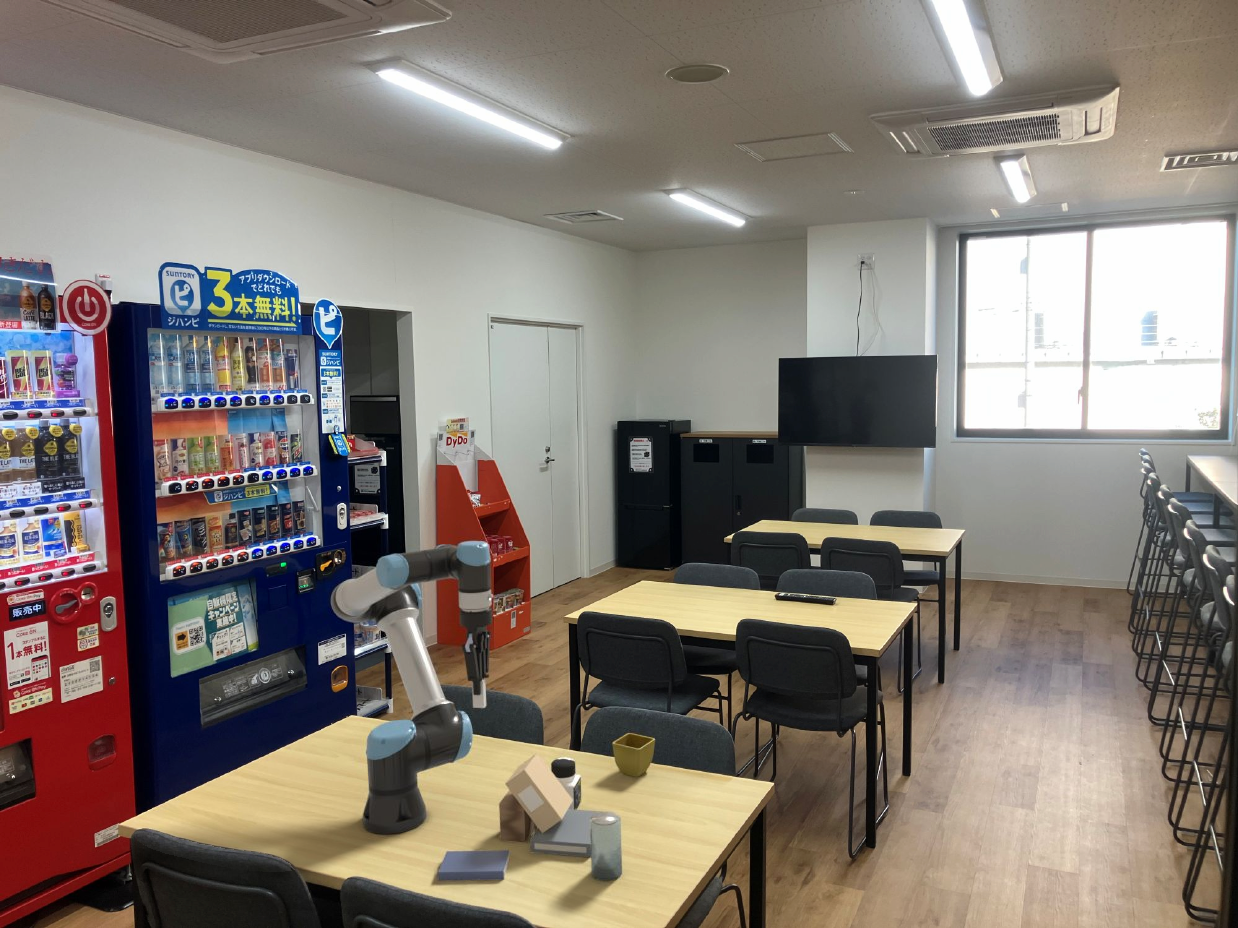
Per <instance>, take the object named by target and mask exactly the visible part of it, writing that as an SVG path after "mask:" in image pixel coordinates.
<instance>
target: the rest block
mask: <svg viewBox="0 0 1238 928" xmlns="http://www.w3.org/2000/svg"><path fill="white" fill-rule="evenodd" d="M498 806H499V807H498V808H499V810H498V811H499V834H500V835H499V837H500V842H508V843H511V842H512V843H522V844H523V843H525V844H526V842H527V841H528V839H529V838H530V836H531V834H532V833H533V832H534V830H535V828H537V826H536V824H535V823H534V822H533V820H532V819H531V818H530V816H529V815H528V814H527V812H526V811H525V810H524V808H523V807H522V806H521V804H520V803H519V802H518V800H517V799H516V798H515V796H514V795H513V794H512V792H511V791H510V790H509V789H508V791H507V792H506V794H505V795H504V797H503V798H502V799H501V801H500V802H499V803H498Z"/></svg>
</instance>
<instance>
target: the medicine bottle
mask: <svg viewBox="0 0 1238 928" xmlns="http://www.w3.org/2000/svg"><path fill="white" fill-rule="evenodd" d="M550 766H551V767H550V768H551V769H550V770H551V772H552V773H553V774H554V775H555V777H556V778H557V779H558V781H559V782H560V783H561V785H562V786H563V787H564V789H565V790H566V791H567V793H568V794H569V795H570V797H571V798H572V799H573V801H572V803H571V805H570V806H569V808H568V809H574V810H579V809H578V808H579V807H580V804H581V803H582V777H581V776H582V775H580V774H577V773H576V761H575V760H574V759H573V758H570V757H558V758H555V759H554V760H553V761H552V762H551V764H550Z"/></svg>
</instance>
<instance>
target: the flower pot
mask: <svg viewBox="0 0 1238 928" xmlns="http://www.w3.org/2000/svg"><path fill="white" fill-rule="evenodd" d="M655 743H656V739H655V738H654V737H649V736H645V735H641V734H636V733H631V732H628V733H626V734H624V735H622V736H621V737H619V738H618V739H615V740H614V741H613V742H612V743H611V745H612V752H613V757H614V762H615V765H616V767H617V768H618V770H619V771H620V773H621V774H623V775H627V776H630V777H631V776H632V777H633V778H638V777H640V776H642V774H644V773H645V772H647V771H648V769H649V767H650V766H651V764H652V760H653V757H654V752H655V751H654V750H655Z"/></svg>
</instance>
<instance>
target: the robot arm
mask: <svg viewBox="0 0 1238 928" xmlns="http://www.w3.org/2000/svg"><path fill="white" fill-rule="evenodd" d="M491 560H492V559H491V555H490V545H489V544H488V543H487V541H482V540H479V541H478V540H468V541H462V542H460V543H458V544H457V546H456V545H453V544H440V545H437V546H436V547H434V548H429V549H422V550H417V551H409V552H402V553H391V554H389V555H385V556H381V557H380V558H378V560H377V563H376V566H375V568H373V569H371V570H370V571H368V572H366V573H363V575H361V576H359V577H357V578H350V579H346V580H345V581H342V582H341V583H339V584H338V585H337V586H335V588H334V589H333V591H332V593H331V596H330V605H331V609H332V610H333V612H334V614H336V616H337V617H338V618H340V619H342V620H343V621H346V622H348V623H349V622H350V623H355V624H356V623H358V624H359V623H365V622H371V621H374V622H375V625H376V628H377V630H379V631H382V632H384V633H385V635H386V640H387V641H388V644H389V646H390V649H391V652H392V655H393V658H394V660H395V661H394V662H395V663H396V667H397V669H398V672H399V675H400V678H401V681H402V683H403V687H404V690H405V692H406V694H407V697H408V700H409V703H410V706H411V708H412V711H413V714H412V716H411V718H410V719H405V718H404V719H399V720H396V719H394V720H390V721H387V722H384V723H381V724H379V725H378V726H376V727H374V728H373V729H372V730H371V731H370V733H369V734H368V736H367V738H366V751H365V755H366V761H367V763H366V764H367V779H368V780H367V781H368V782H367V783H368V794H367V798H366V801H365V805H364V809H363V812H362V826H363V828H364V829H365V830H366V831H369V832H370V833H373V834H378V835H379V834H380V835H392V834H399V833H403V832H406V831H407V832H408V831H410V830H412V829H415V828H416V827H419V826H420V825H421V824H423V823H424V822H425V820H426V819H427V807H426V803H425V801H424V798H423V796H422V793H421V791H420V788H419V786H418V784H419V783H418V774H419V773H421V772H424V771H427V770H430V769H434V768H438V767H440V766H443V765H447V764H454V763H455V762H456V761H458V760H459V761H460V760H462V759H464V758H465V757H467V755H468V754H469V753H470V751H471V749H472V744H473V738H474V737H473V727H472V723H471V719H470V718H469V715H468V714H467V713H466V712H465V711H463V710H456V709H457V708H456V707H455V703H454V702H453V701H450V700H448V699H446V697H445V694H444V692H443V689H442V687H441V683H440V681H439V678H438V675H437V672H436V669H435V668H434V665H433V662H432V660H431V656H430V654H429V651H428V649H427V646H426V643H425V641H424V638H423V635H422V631H421V630H420V627H419V624H418V622H417V620H418V617H419V615H420V609H421V607H422V604H423V603H422V602H423V599H422V591H421V589H420V584H422V583H429V582H434V581H439V580H440V581H441V580H447V579H454V580H457V581H458V582H457V583H458V607H459V608H460V610H459V624H460V626H461V627H463V628H466V634H465V640H466V643H462V646H461V648H462V651H463V654H464V662H465V668H466V675H467V676H466V677H467V681H468V682H471V689H472V690H471V691H472V708H473V709H475V708H476V709H478V708H479V709H485V708H486V707H487V694H486V692H487V688H486V679H489V677H490V674H488V673H489V672H490V671H489V670H490V668H489V667H490V666H489V665H490V647H491V646H490V644H491V643H490V642H491V636H492V631H491V630H488V628H487V627H489V626H490V625H492V623H493V609H492V607H491V606H492V599H493V598H494V595H493V593H492V572H491V570H492V569H491Z"/></svg>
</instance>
